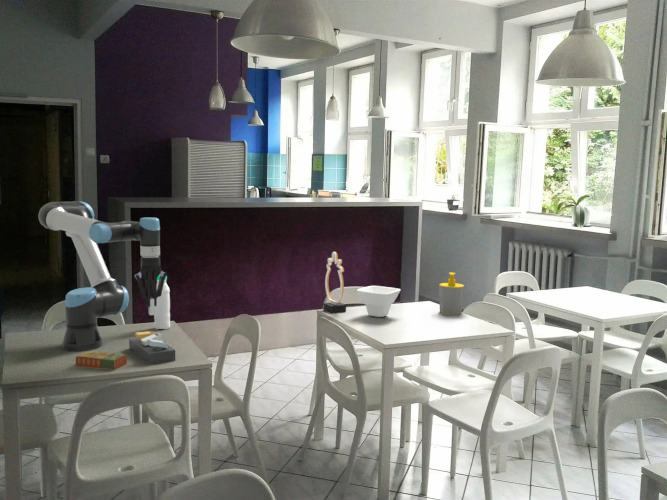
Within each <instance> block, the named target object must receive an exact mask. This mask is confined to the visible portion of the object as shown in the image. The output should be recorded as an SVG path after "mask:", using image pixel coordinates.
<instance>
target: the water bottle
mask: <svg viewBox="0 0 667 500" xmlns="http://www.w3.org/2000/svg"><path fill="white" fill-rule="evenodd" d="M159 279H160V274H159V276H158V277H157V288H158V284H159ZM167 280H168V276H166V277H165V280H164V284H163V289H162V294H161V296H160V297H157V299H156V301H157V302H156V303H157V305H156V306H154V315H153V316H154V317H153V318H154V322H153V323H154V324H153V325H154V329H155V330H158V329H164V330H168V329H170V328H171V312H170V311H171V298H170V297H171V296H170V292H171V290H170V287H169V285H168V284H167Z"/></svg>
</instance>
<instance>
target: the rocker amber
mask: <svg viewBox="0 0 667 500" xmlns="http://www.w3.org/2000/svg"><path fill="white" fill-rule="evenodd" d="M155 333H156V332H155V331H153V330H149V331H138V332H134V338H137V339H143V338H145V337H148V336H150V335H153V334H155Z"/></svg>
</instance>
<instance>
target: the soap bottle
mask: <svg viewBox="0 0 667 500" xmlns="http://www.w3.org/2000/svg"><path fill="white" fill-rule="evenodd" d="M448 275H449V278H448V279H447V282H441V283H439V284H438V285H439V286H438V287H439V288H438V290H439V296H438V297H439V312H440V314H441V313H442V314H446V315H460V314H462V313H463V312H462V311H463V301H464V292H465V285H464V284H462V283H457V282H456V281H457V280H456V279H455V275H456V272H448Z"/></svg>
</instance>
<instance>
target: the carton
mask: <svg viewBox="0 0 667 500" xmlns="http://www.w3.org/2000/svg"><path fill="white" fill-rule="evenodd" d="M127 360H128V359H127V354H126V353H125V354H124V353H115V352H103V351H96V350H95V351H92V350H86V352H83V353H81V354H78V355H76V356H75V367H78V368H89V369H90V368H91V369H97V370H98V369H99V370H108V371H116V370H118V369H119V368H120V369H121V367H124V366H125V365H127Z"/></svg>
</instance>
